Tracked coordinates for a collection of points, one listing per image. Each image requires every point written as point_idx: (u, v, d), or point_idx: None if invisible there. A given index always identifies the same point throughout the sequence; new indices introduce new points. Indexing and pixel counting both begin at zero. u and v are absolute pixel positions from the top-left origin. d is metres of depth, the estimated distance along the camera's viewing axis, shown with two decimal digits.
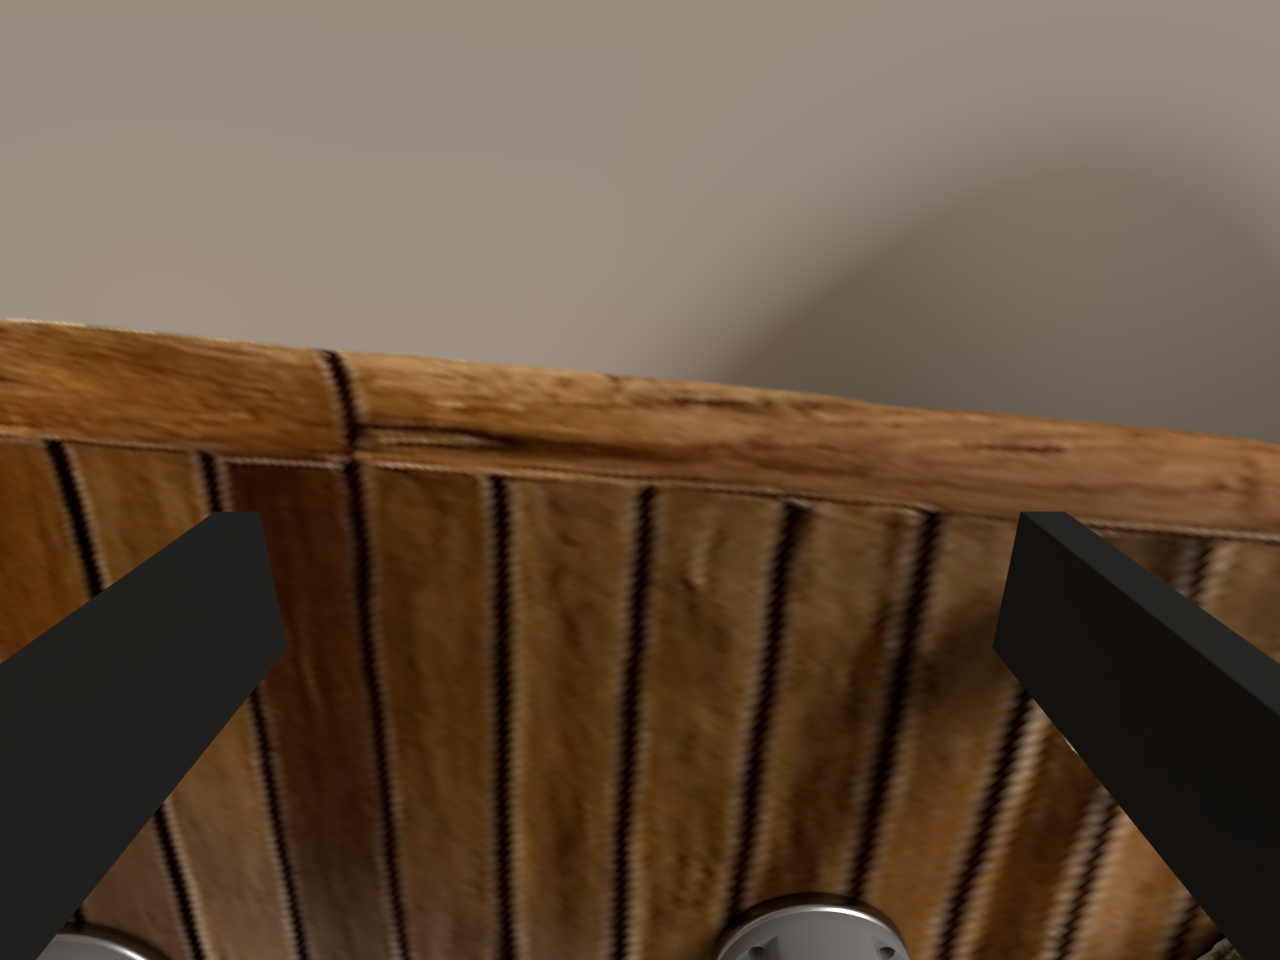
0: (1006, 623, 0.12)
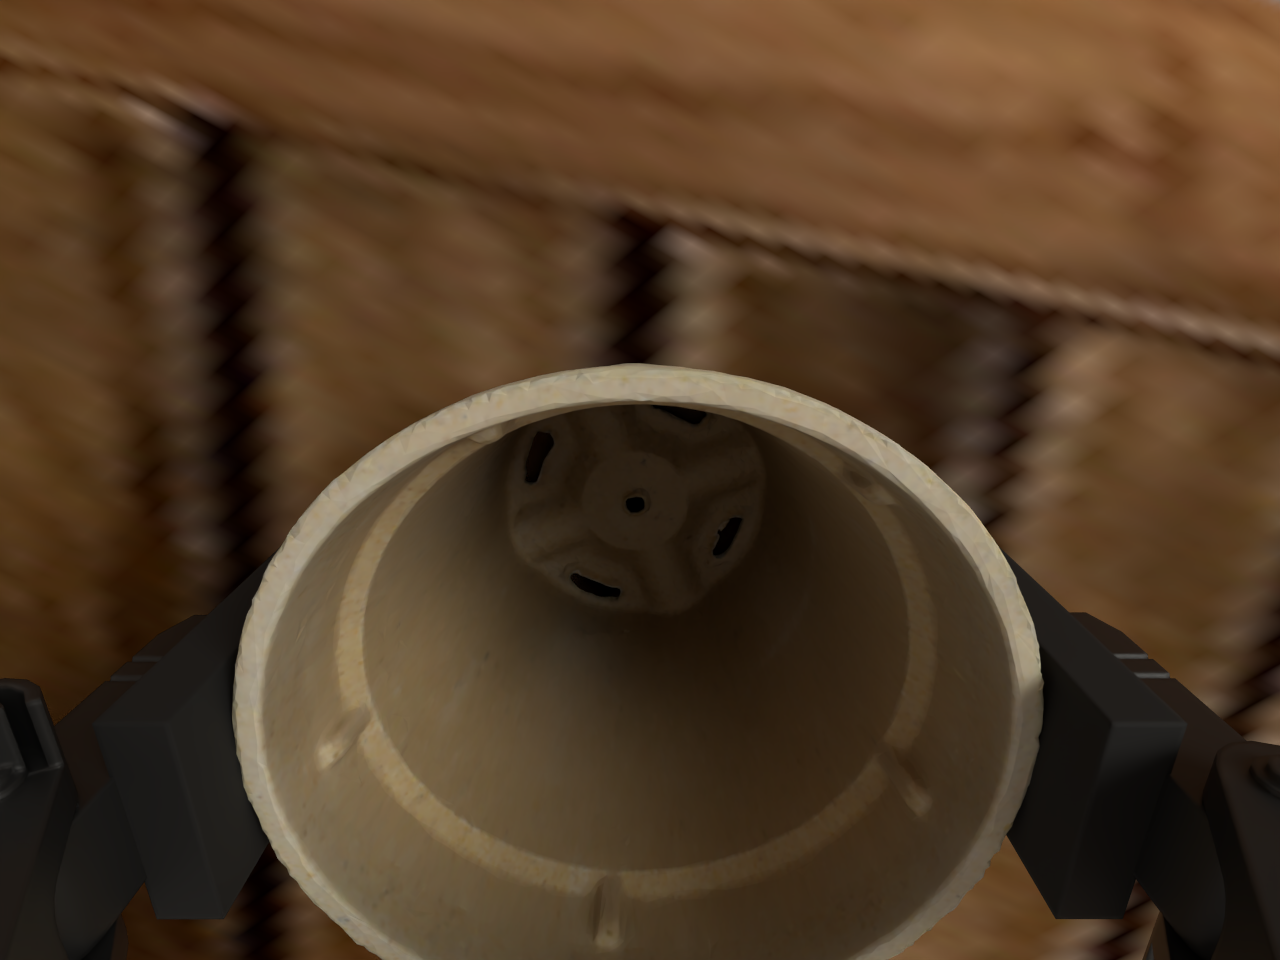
0: None
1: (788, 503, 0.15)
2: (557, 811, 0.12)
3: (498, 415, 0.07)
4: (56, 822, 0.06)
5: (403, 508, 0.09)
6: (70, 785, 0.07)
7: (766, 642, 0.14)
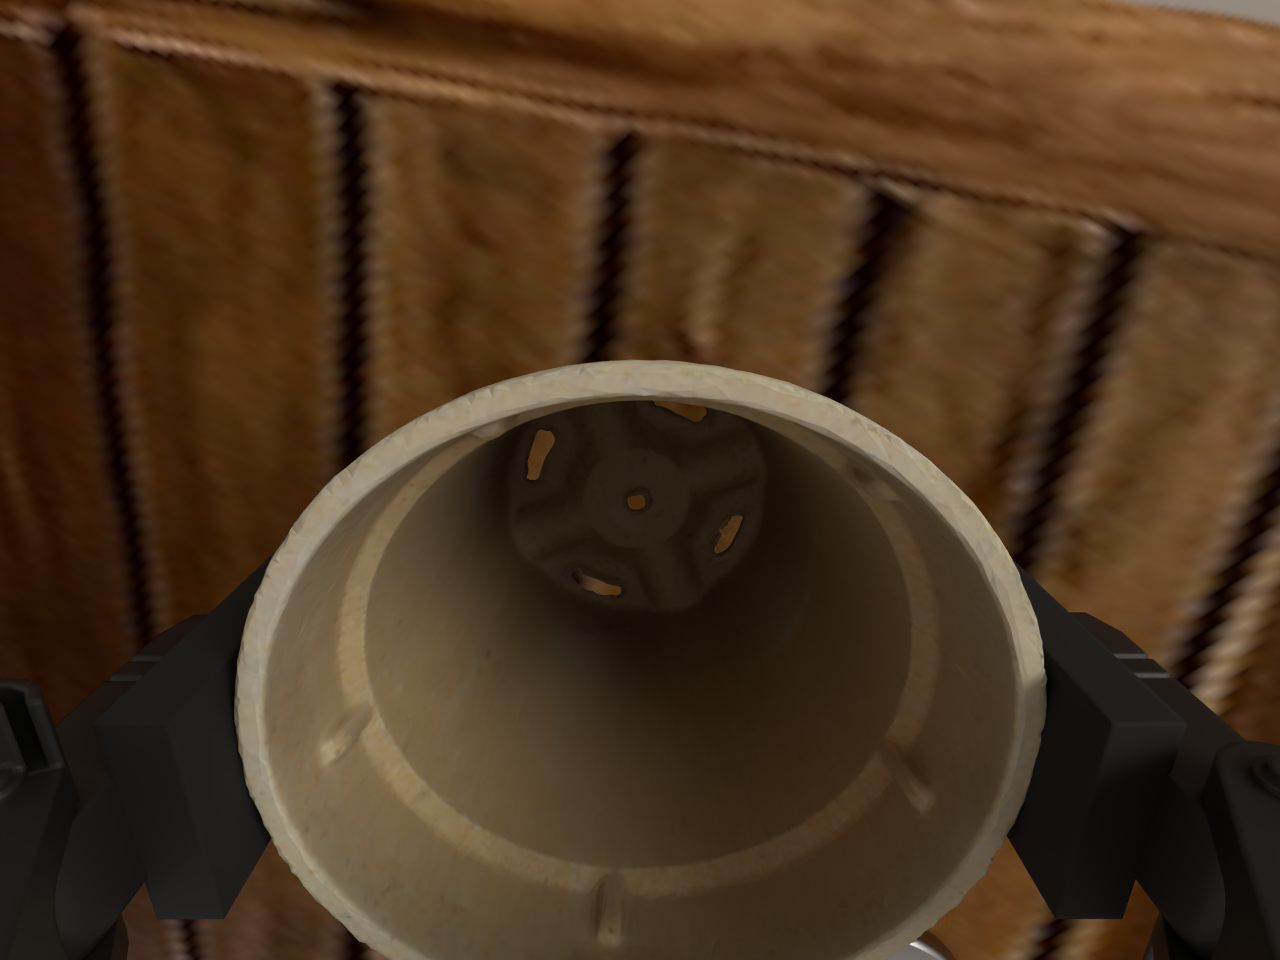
0: None
1: (790, 501, 0.15)
2: (559, 808, 0.12)
3: (501, 410, 0.07)
4: (57, 822, 0.06)
5: (405, 504, 0.09)
6: (71, 785, 0.07)
7: (768, 639, 0.14)
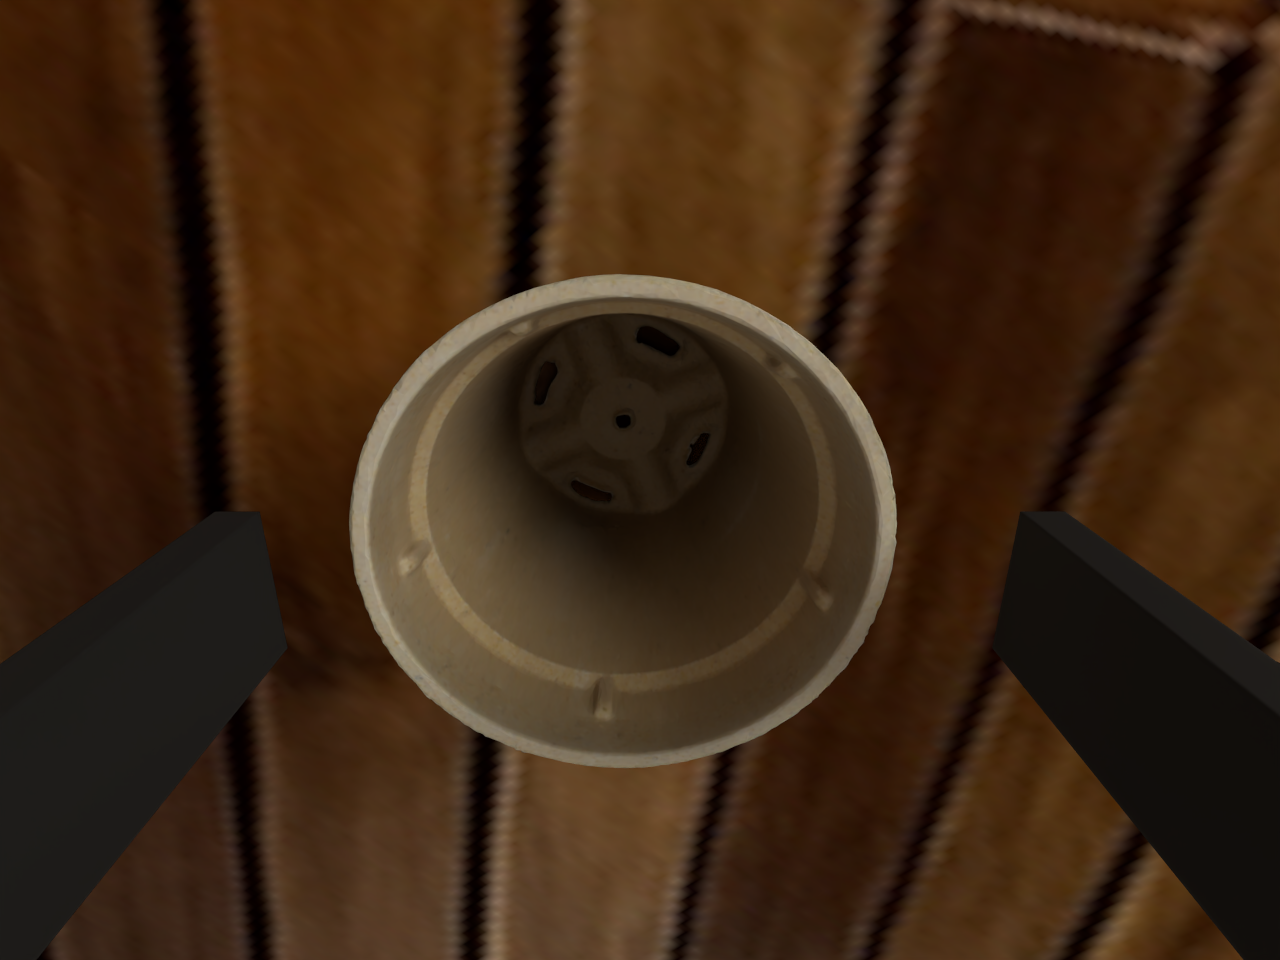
0: (1006, 623, 0.12)
1: (743, 415, 0.18)
2: (564, 637, 0.16)
3: (532, 306, 0.11)
4: None
5: (458, 388, 0.13)
6: None
7: (726, 523, 0.18)
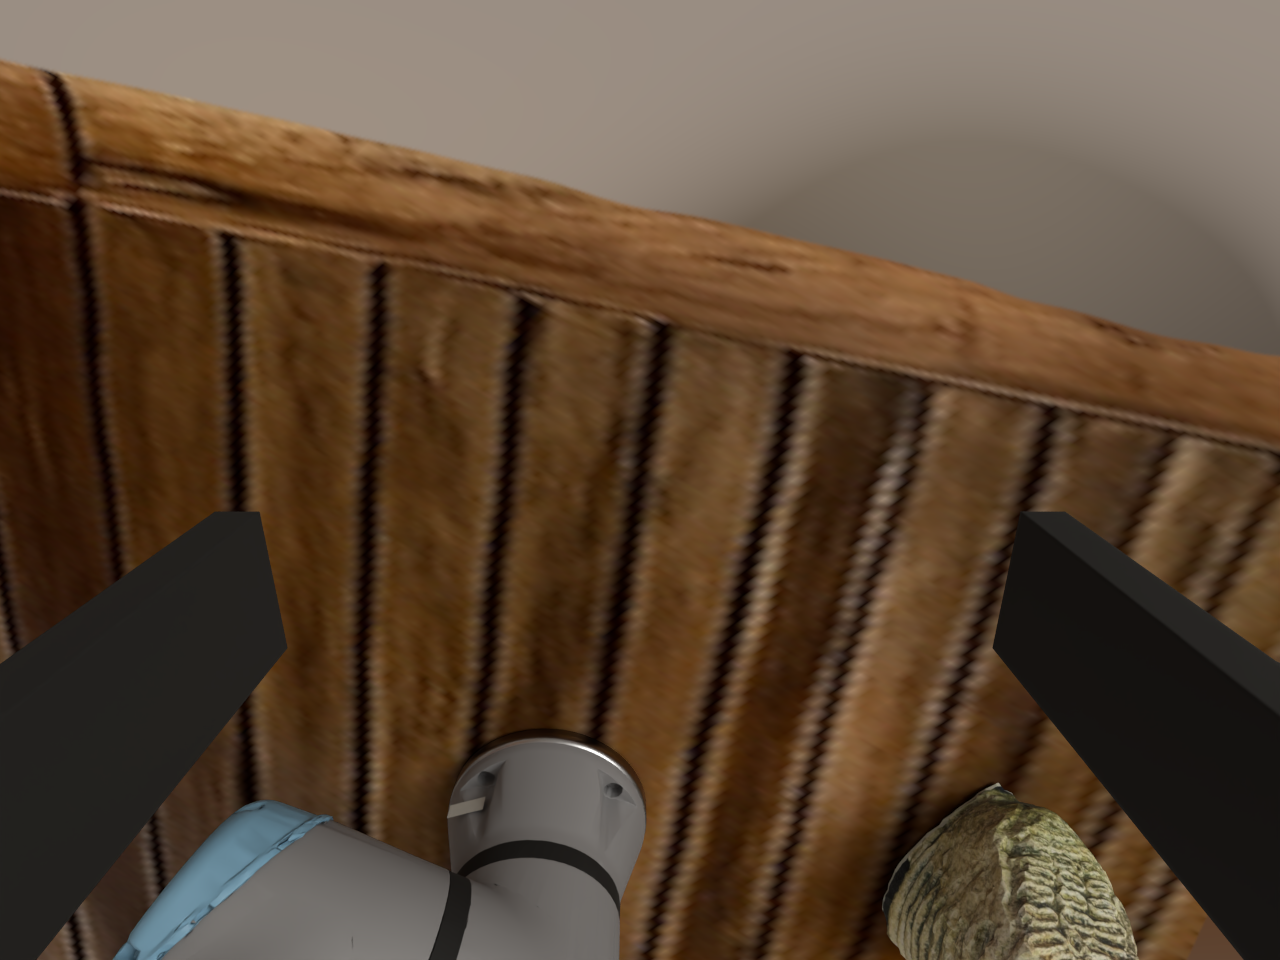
0: (1006, 623, 0.12)
1: None
2: None
3: None
4: None
5: None
6: None
7: None
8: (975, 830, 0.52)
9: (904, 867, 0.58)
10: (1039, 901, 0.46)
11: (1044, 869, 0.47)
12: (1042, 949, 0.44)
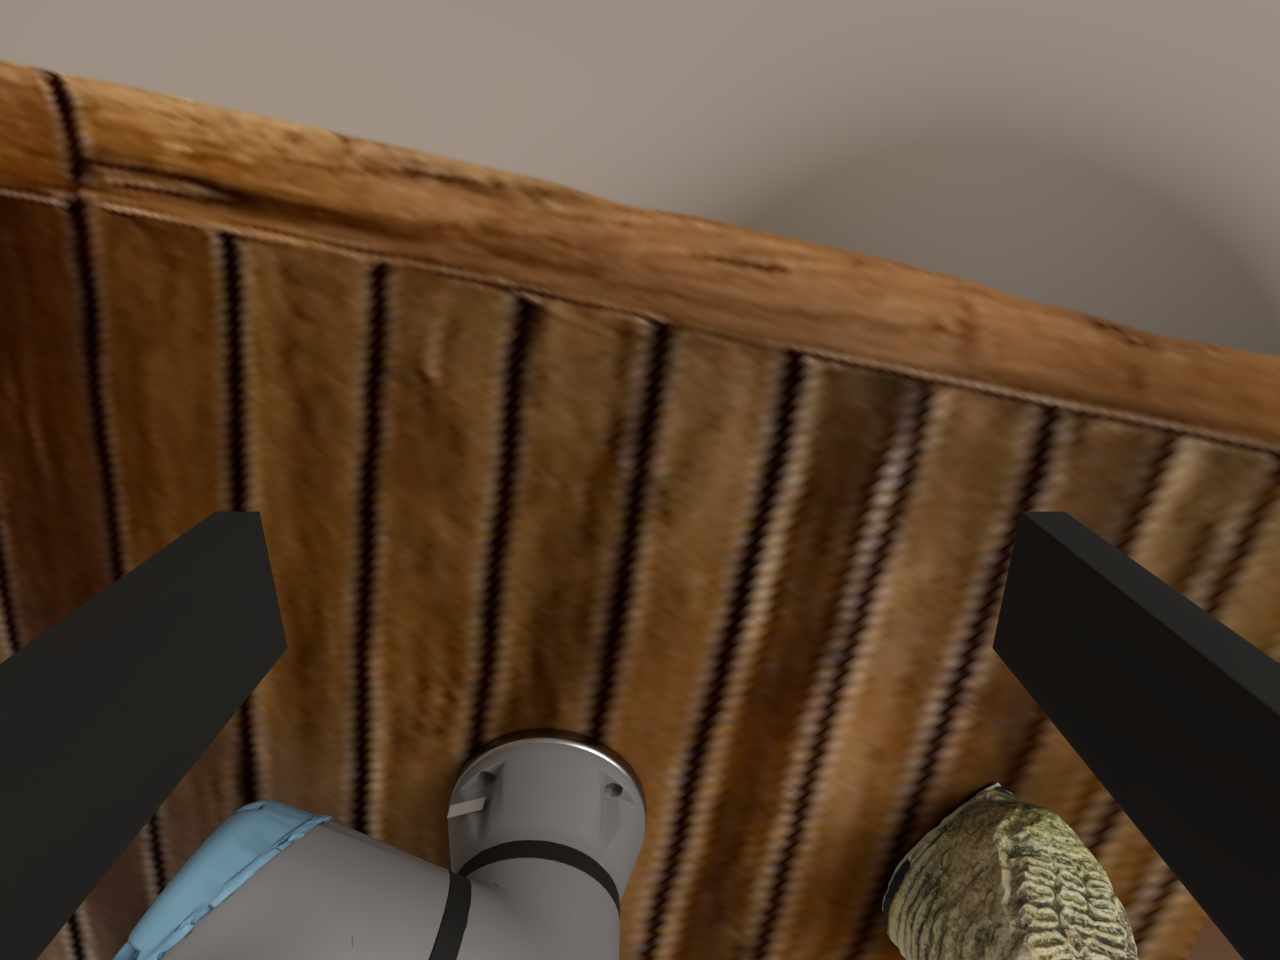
0: (1006, 623, 0.12)
1: None
2: None
3: None
4: None
5: None
6: None
7: None
8: (975, 830, 0.52)
9: (904, 867, 0.58)
10: (1039, 901, 0.46)
11: (1044, 869, 0.47)
12: (1042, 949, 0.44)
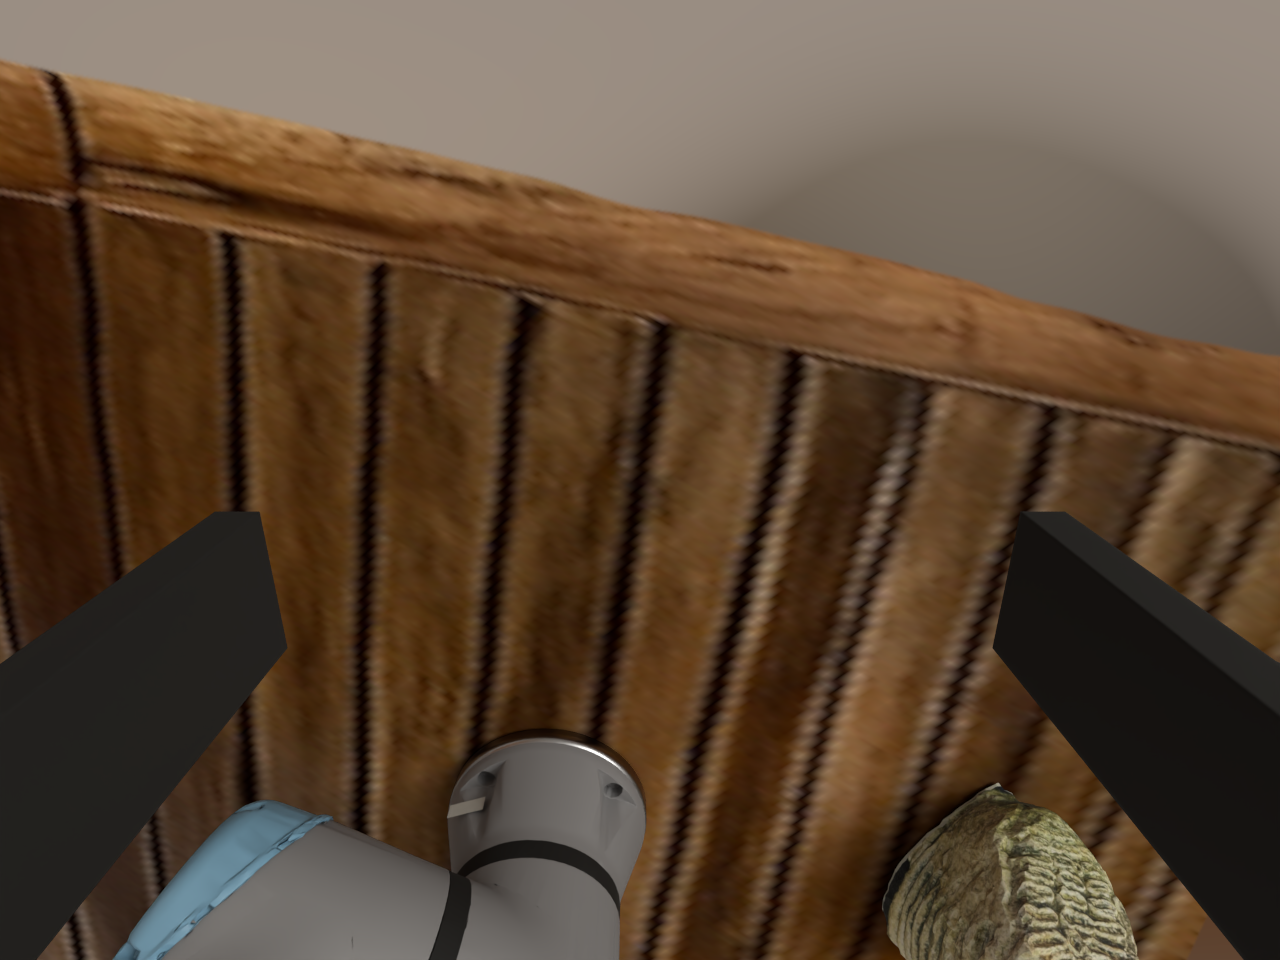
0: (1006, 623, 0.12)
1: None
2: None
3: None
4: None
5: None
6: None
7: None
8: (975, 830, 0.52)
9: (904, 867, 0.58)
10: (1039, 901, 0.46)
11: (1044, 869, 0.47)
12: (1042, 949, 0.44)
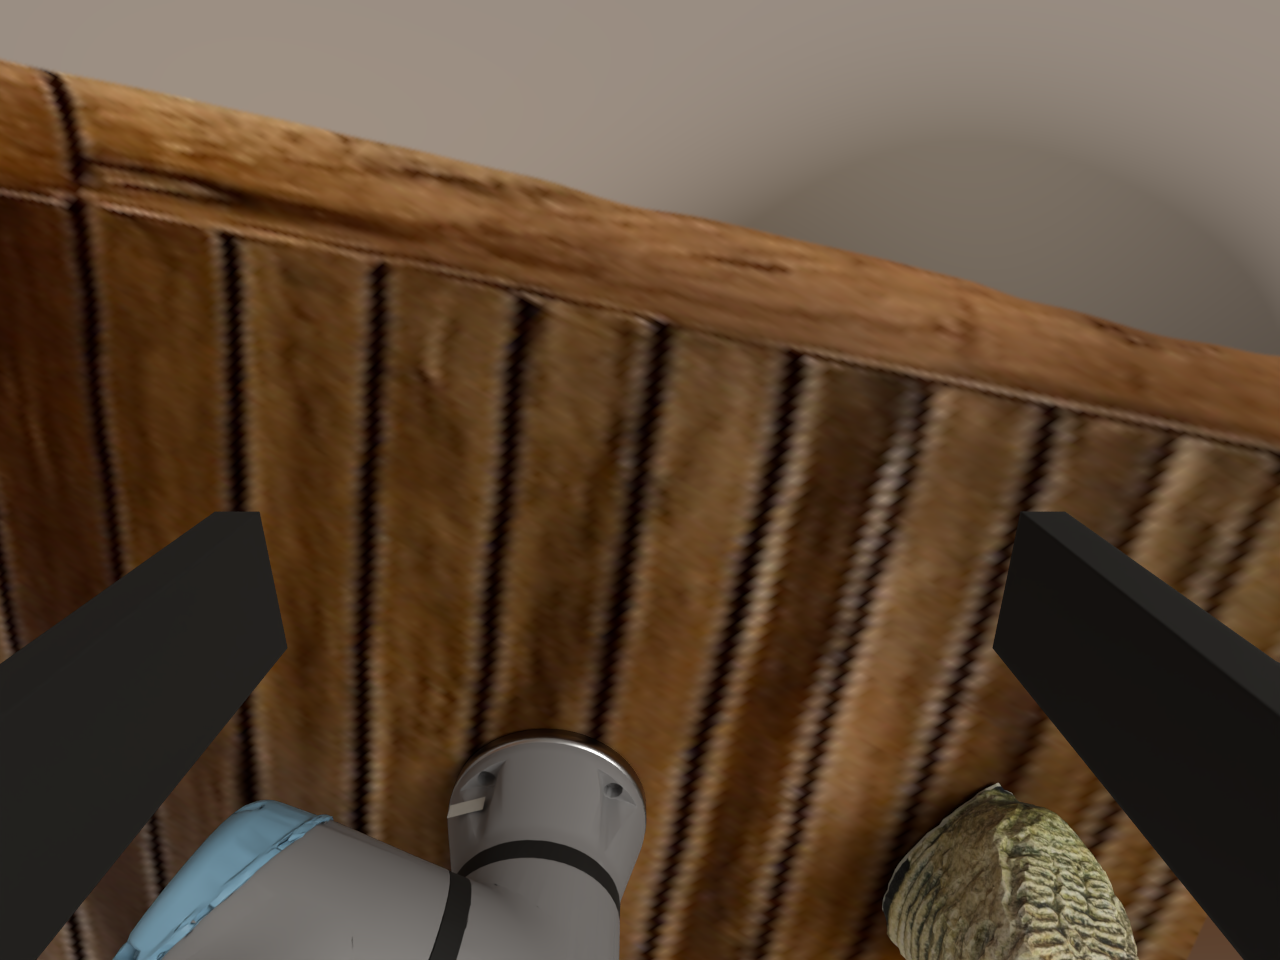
0: (1006, 623, 0.12)
1: None
2: None
3: None
4: None
5: None
6: None
7: None
8: (975, 830, 0.52)
9: (904, 867, 0.58)
10: (1039, 901, 0.46)
11: (1044, 869, 0.47)
12: (1042, 949, 0.44)
